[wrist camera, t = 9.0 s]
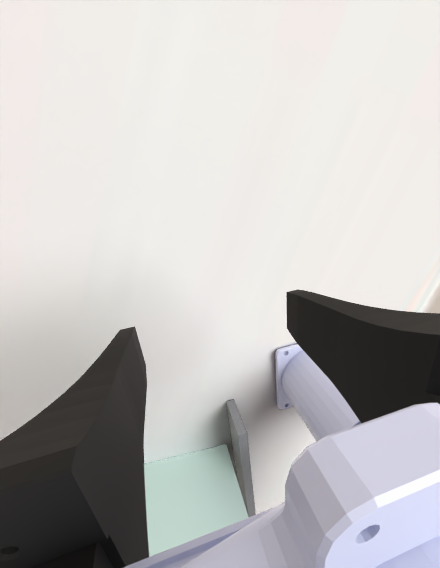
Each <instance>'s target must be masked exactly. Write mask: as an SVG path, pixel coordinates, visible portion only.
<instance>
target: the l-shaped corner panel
mask: <svg viewBox="0 0 440 568" xmlns="http://www.w3.org/2000/svg"><path fill="white" fill-rule="evenodd" d="M144 476H145V497H146V515H147V531H148V546H149V557H151V556H153V555H156V554H158V553H161V552H163V551H166V550H169V549H171V548H174V547H176V546H179V545H181V544H184V543H186V542H189V541H191V540H194V539H196V538H199V537H201V536H204V535H206V534H209V533H211V532H214V531H216V530H219V529H221V528H224V527H226V526H229V525H231V524H234V523H237V522H239V521H242V520H244V519H247V518H249V517H248V514H247V510H246V507H245V504H244V500H243V497H242V494H241V490H240V487H239V484H238V481H237V477H236V474H235V471H234V467H233V464H232V461H231V457H230V454H229V451H228V448H227V444H224V445H220V446H216V447H212V448H208V449H204V450H200V451H195V452H191V453H187V454H183V455H179V456H175V457H171V458H167V459H162V460H158V461H154V462H150V463H146V464H144Z"/></svg>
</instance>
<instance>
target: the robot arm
mask: <svg viewBox="0 0 440 568" xmlns="http://www.w3.org/2000/svg"><path fill="white" fill-rule="evenodd" d="M287 329H288V330H289V332H290V333H291V335H292V337H293V338H294V339H295V341H296V342H297V344H295V345H291V346H287V347H284V348H280V349H278V350H277V351H276V353H275V359H276V387H277V407H278V408H279V409H280V410H283V409H286V408H290V407H293V406H294V408H295V409H296V411H297V412H298V414H299V415H300V417H301V418H302V420H303V421H304V423H305V424H306V426H307V428H308V429H309V431H310V432H311V434H312V435H313V437H314V438H315V440H316V441H317V442H315V443H313V444H311V445H309V446H308V447H306V449H305V450H304V451H303V452H302V453H301V454H300V455H299V456H298V457H297V458H296V459H295V460H294V461H293V463H292V465H291V468H290V471H289V475H288V478H287V481H286V484H285V499H286V501H285V502H284V503H282V504H280V505H279V506H277V507H274V508H272V509H269V510H267V511H264V512H262V513H259V514H257V515H254V516H252V517H249V518H247V519H244V520H242V521H239V522H237V523H234V524H231V525H229V526H226V527H224V528H221V529H219V530H216V531H214V532H211V533H209V534H206V535H204V536H201V537H199V538H196V539H194V540H191V541H189V542H186V543H184V544H181V545H179V546H176V547H174V548H171V549H169V550H166V551H163V552H161V553H158V554H156V555H153V556H151V557H149V546H148V531H147V515H146V497H145V476H144V449H143V439H144V421H145V406H146V391H147V378H146V364H145V361H144V357H143V354H142V350H141V347H140V343H139V340H138V336H137V333H136V329H135V327H131V328H127V329H122V330H120V331H119V332H118V333H117V335H116V336H115V337H114V339H113V340H112V341H111V343H110V344H109V345H108V346H107V348H106V349H105V350H104V351H103V353H102V354H101V355H100V356H99V358H98V359H97V360H96V361H95V362H94V363H93V364H92V366H91V367H90V368H89V369H88V370H87V371H86V372H85V373H84V374H83V375H82V376H81V378H80V379H79V380H77V381H76V382H75V383H74V384H73V385H72V386H71V387H70V388H69V389H68V390H67V391H66V392H65V393H64V394H62V395H61V396H60V397H59V398H58V399H56V400H55V401H54V402H53V403H52V404H50V405H49V406H48V407H47V408H45V409H44V410H43V411H42V412H40V413H39V414H38V415H37V416H35V417H34V418H33V419H31V420H30V421H28V422H27V423H26V424H24V425H23V426H22V427H20V428H19V429H17V430H16V431H14V432H13V433H11V434H10V435H8V436H7V437H6V438H4V439H2V440H1V441H0V568H440V314H436V313H416V312H406V311H396V310H388V309H381V308H375V307H369V306H364V305H359V304H355V303H350V302H346V301H342V300H338V299H335V298H331V297H327V296H323V295H320V294H316V293H312V292H308V291H304V290H294V291H290V292H287ZM284 352H286V353H284Z"/></svg>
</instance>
